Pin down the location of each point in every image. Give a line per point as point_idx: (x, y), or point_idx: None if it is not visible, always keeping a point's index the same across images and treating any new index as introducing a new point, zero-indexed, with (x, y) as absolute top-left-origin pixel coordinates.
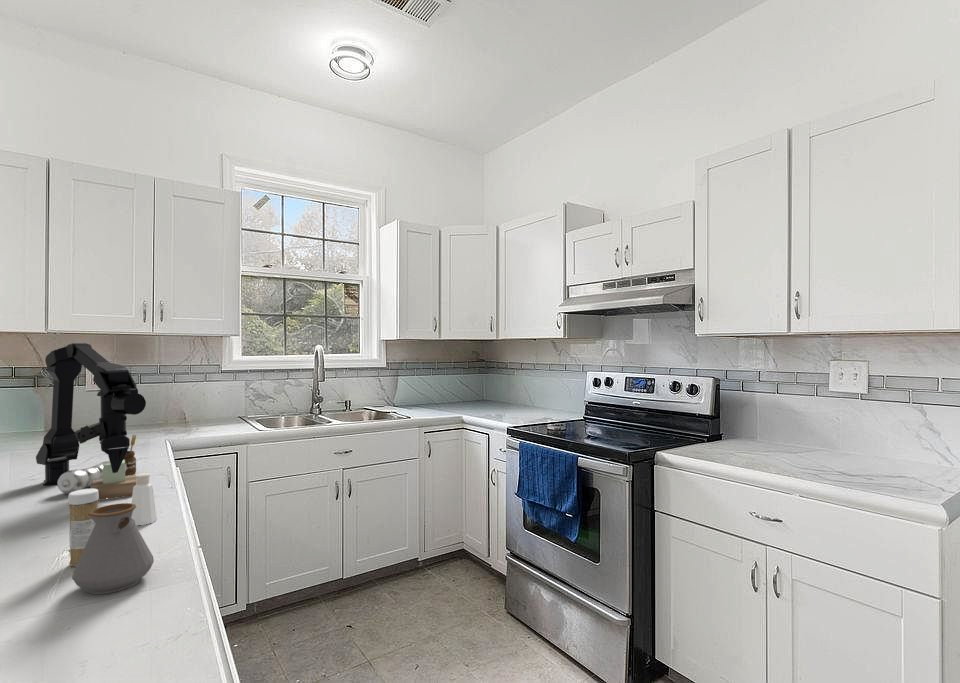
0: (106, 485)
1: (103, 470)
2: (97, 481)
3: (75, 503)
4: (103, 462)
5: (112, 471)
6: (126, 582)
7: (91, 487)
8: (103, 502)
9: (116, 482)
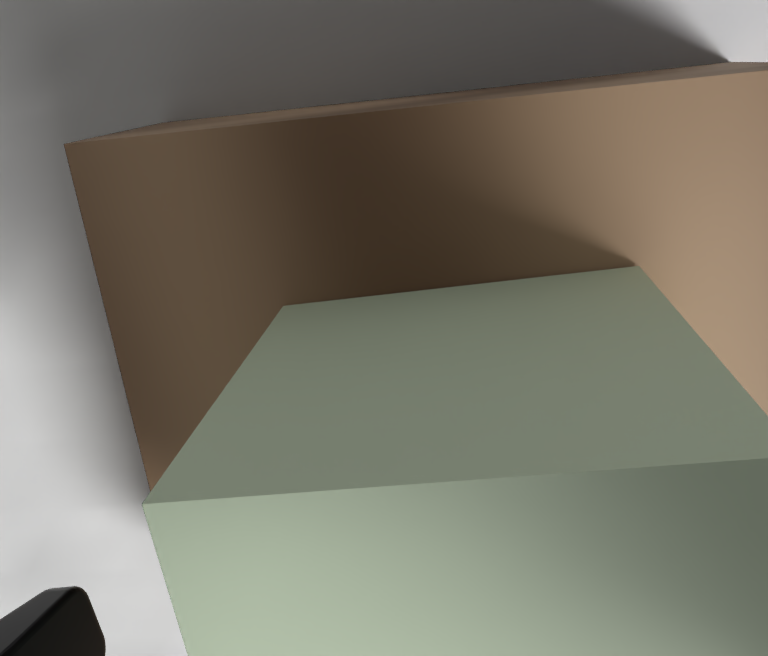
0: (150, 366)
1: (202, 436)
2: (608, 174)
3: None
4: (716, 479)
5: (27, 604)
6: None
7: (96, 152)
8: (58, 280)
9: None
